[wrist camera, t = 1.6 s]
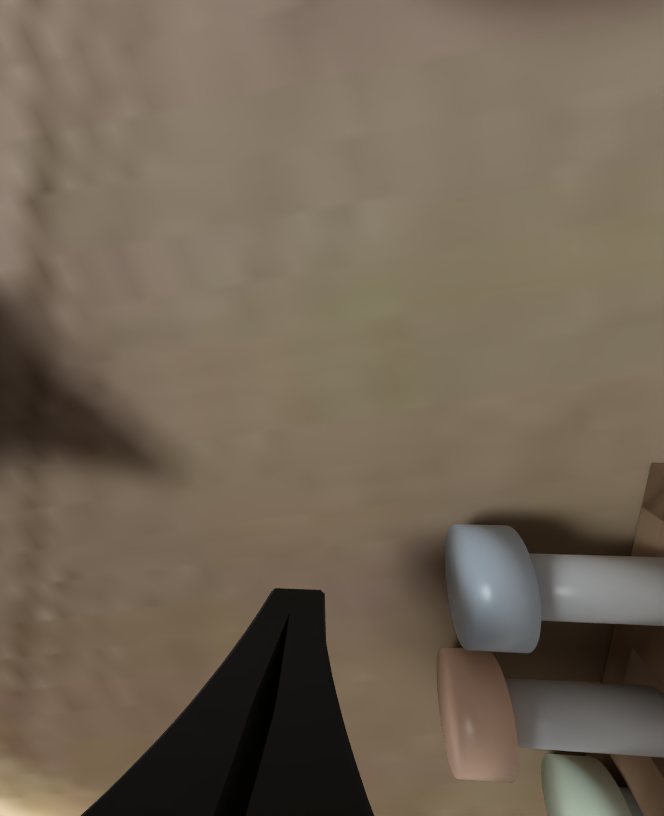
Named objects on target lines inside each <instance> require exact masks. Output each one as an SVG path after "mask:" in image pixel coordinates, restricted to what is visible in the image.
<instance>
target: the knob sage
mask: <svg viewBox="0 0 664 816" xmlns="http://www.w3.org/2000/svg"><path fill="white" fill-rule="evenodd" d="M541 778H542V788H543V794H544V800H545V805H546V810H547V814H548V816H644V815H643V813H642V811H641V809H640V807H639V806H638V804H637V802H636V800H635V799H634V797H633V795H632V793H631V792H630V790H629V788H624V787H618V785H617V784H616V782H615V780H614V779H613V777H612V776H611V774H610V773H609V771H608V770H607V769H606V767H605V766H604V765H603V764H602V763H601V762H600V761H599V760H597V759H596V758H594V757H590V756H576V755H561V754H545V756H544V757H543V760H542V766H541Z"/></svg>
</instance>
